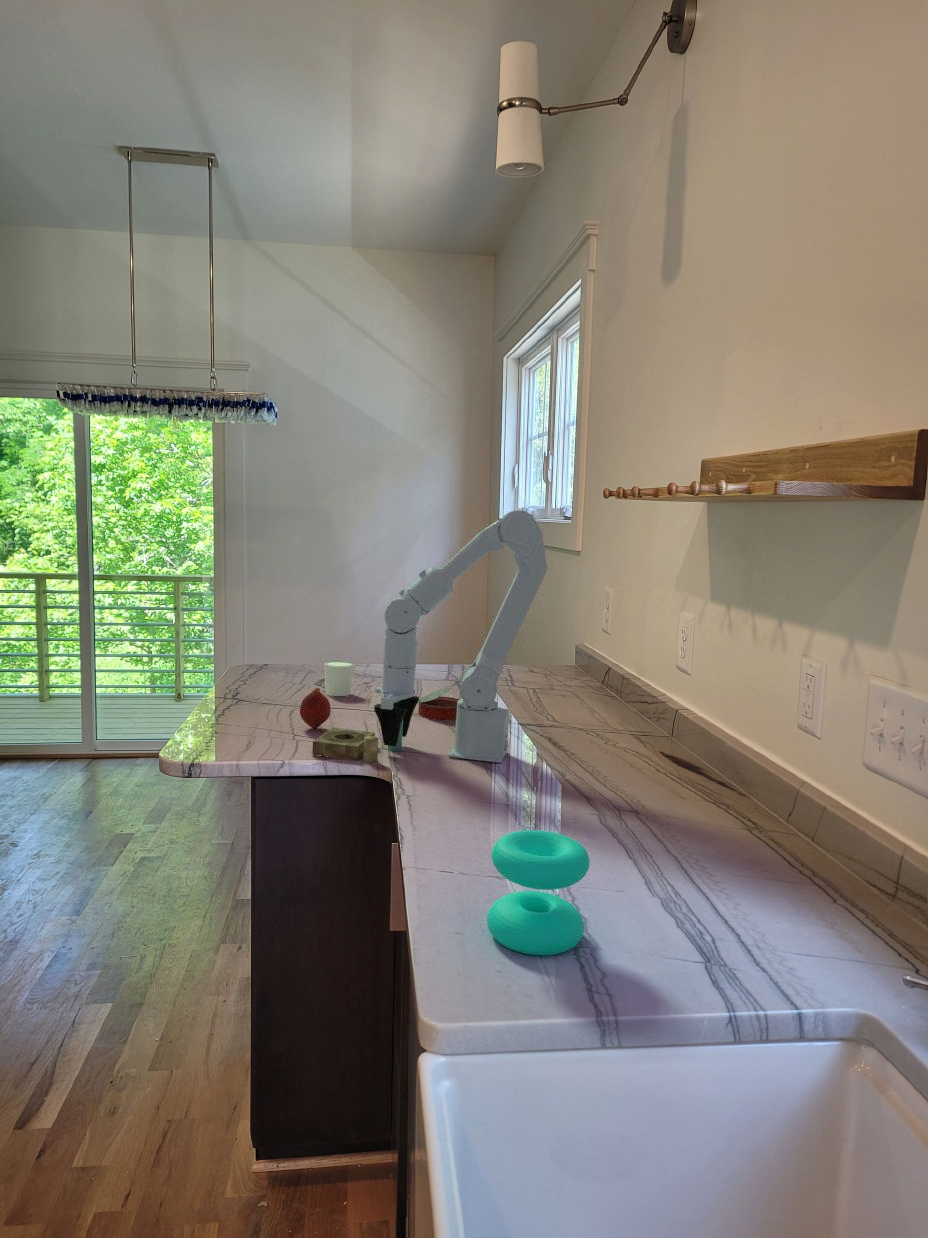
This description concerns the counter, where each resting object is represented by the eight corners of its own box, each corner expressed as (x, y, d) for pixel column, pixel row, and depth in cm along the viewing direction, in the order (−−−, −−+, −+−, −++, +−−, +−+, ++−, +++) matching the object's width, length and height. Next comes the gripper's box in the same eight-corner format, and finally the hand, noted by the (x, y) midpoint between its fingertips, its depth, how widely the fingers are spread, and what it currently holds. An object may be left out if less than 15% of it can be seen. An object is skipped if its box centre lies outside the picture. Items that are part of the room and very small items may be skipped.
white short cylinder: (359, 694, 199) (360, 664, 199) (339, 698, 194) (341, 667, 193) (336, 689, 203) (337, 659, 202) (316, 693, 197) (317, 663, 196)
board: (374, 746, 158) (374, 732, 157) (357, 761, 148) (357, 746, 148) (331, 741, 159) (332, 727, 159) (312, 755, 149) (312, 741, 149)
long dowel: (403, 748, 157) (405, 713, 157) (399, 751, 155) (401, 716, 154) (390, 746, 158) (392, 711, 157) (386, 750, 155) (388, 714, 155)
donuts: (599, 865, 85) (497, 861, 84) (591, 962, 86) (490, 959, 85) (580, 828, 95) (488, 824, 94) (573, 915, 96) (482, 912, 95)
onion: (323, 734, 164) (325, 692, 163) (294, 730, 165) (296, 689, 164) (333, 726, 169) (335, 686, 168) (305, 723, 170) (307, 683, 169)
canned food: (443, 743, 180) (431, 704, 176) (413, 727, 188) (401, 689, 183) (482, 714, 186) (472, 675, 181) (452, 699, 193) (441, 662, 188)
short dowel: (378, 759, 149) (380, 737, 149) (374, 763, 147) (376, 740, 147) (365, 758, 150) (366, 735, 149) (361, 762, 148) (362, 738, 147)
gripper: (388, 657, 162) (385, 728, 164) (365, 670, 148) (361, 748, 150) (425, 660, 161) (421, 732, 163) (405, 674, 147) (401, 752, 149)
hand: (395, 740), depth 156 cm, fingers open, 6 cm apart
